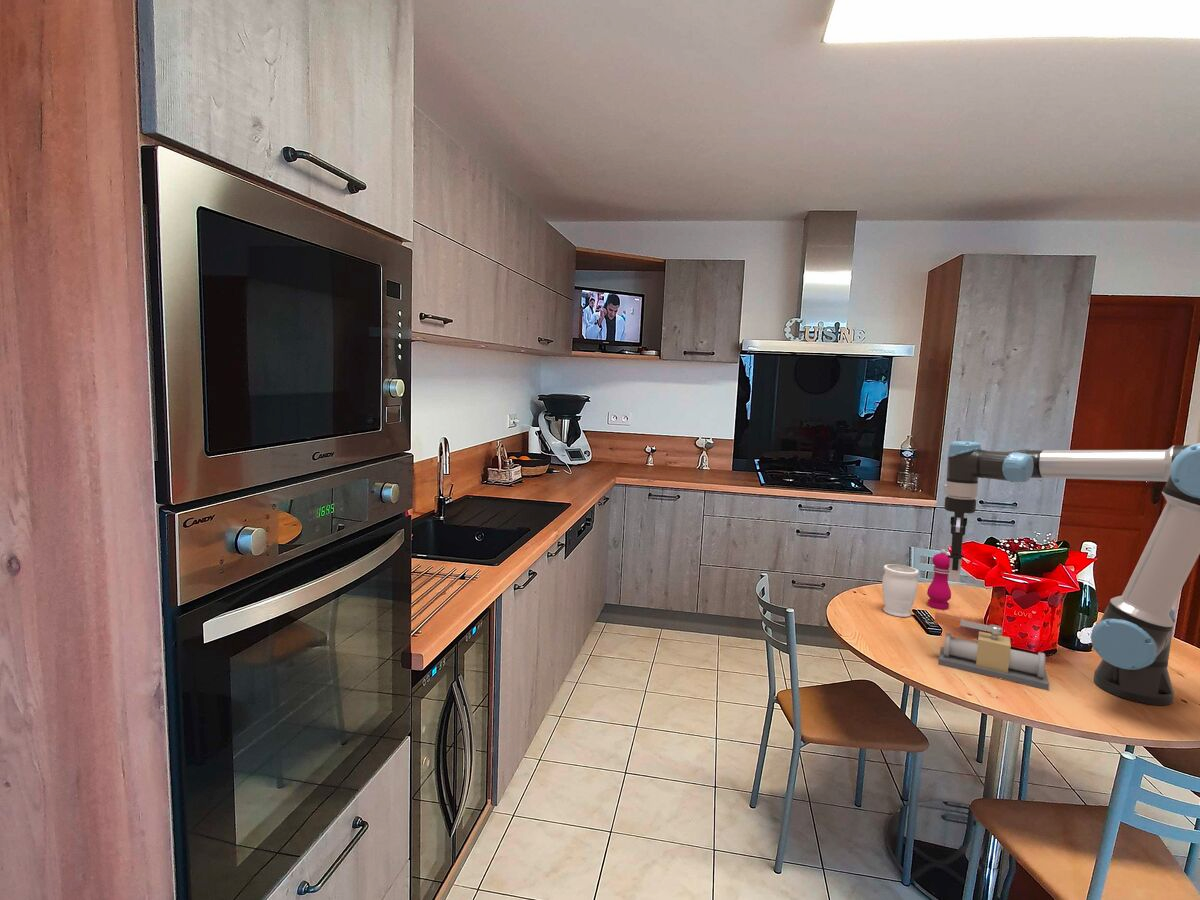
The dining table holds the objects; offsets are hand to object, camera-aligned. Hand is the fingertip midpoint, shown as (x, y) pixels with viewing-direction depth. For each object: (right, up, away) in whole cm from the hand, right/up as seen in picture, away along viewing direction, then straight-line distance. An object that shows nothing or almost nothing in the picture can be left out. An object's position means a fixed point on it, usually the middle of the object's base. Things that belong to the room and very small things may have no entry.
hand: (954, 580), depth 175 cm
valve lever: (-1, -11, -8) cm, 13 cm away
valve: (+4, -21, -10) cm, 24 cm away
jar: (-1, -17, +31) cm, 35 cm away
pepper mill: (+16, -17, +39) cm, 45 cm away
